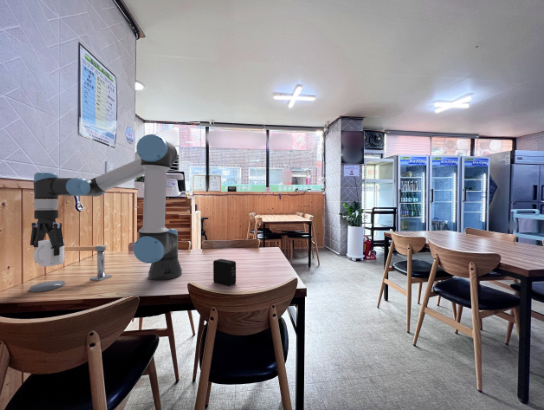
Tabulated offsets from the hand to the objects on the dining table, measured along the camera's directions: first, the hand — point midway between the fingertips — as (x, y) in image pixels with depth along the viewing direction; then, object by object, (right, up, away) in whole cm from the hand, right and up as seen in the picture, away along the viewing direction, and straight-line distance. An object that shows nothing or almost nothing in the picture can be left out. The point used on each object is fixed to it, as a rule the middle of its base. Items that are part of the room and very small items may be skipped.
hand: (47, 262), depth 103 cm
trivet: (0, -11, 0) cm, 11 cm away
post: (+14, -10, +12) cm, 21 cm away
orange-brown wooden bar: (+7, +3, +11) cm, 14 cm away
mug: (+1, -1, 0) cm, 1 cm away
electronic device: (+75, -11, +6) cm, 76 cm away
